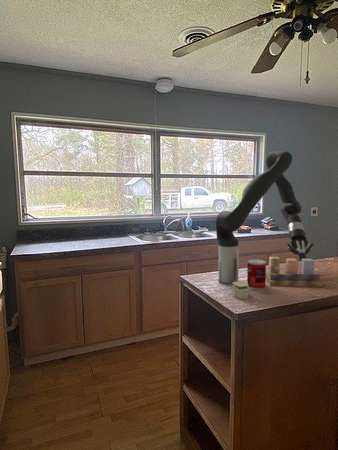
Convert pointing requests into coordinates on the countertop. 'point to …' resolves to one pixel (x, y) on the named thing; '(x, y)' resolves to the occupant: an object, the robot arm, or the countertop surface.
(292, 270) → the salmon orange block
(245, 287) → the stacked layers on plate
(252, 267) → the canned food
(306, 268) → the slate key
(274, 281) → the wooden board with bar
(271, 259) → the maple key
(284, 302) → the countertop surface
